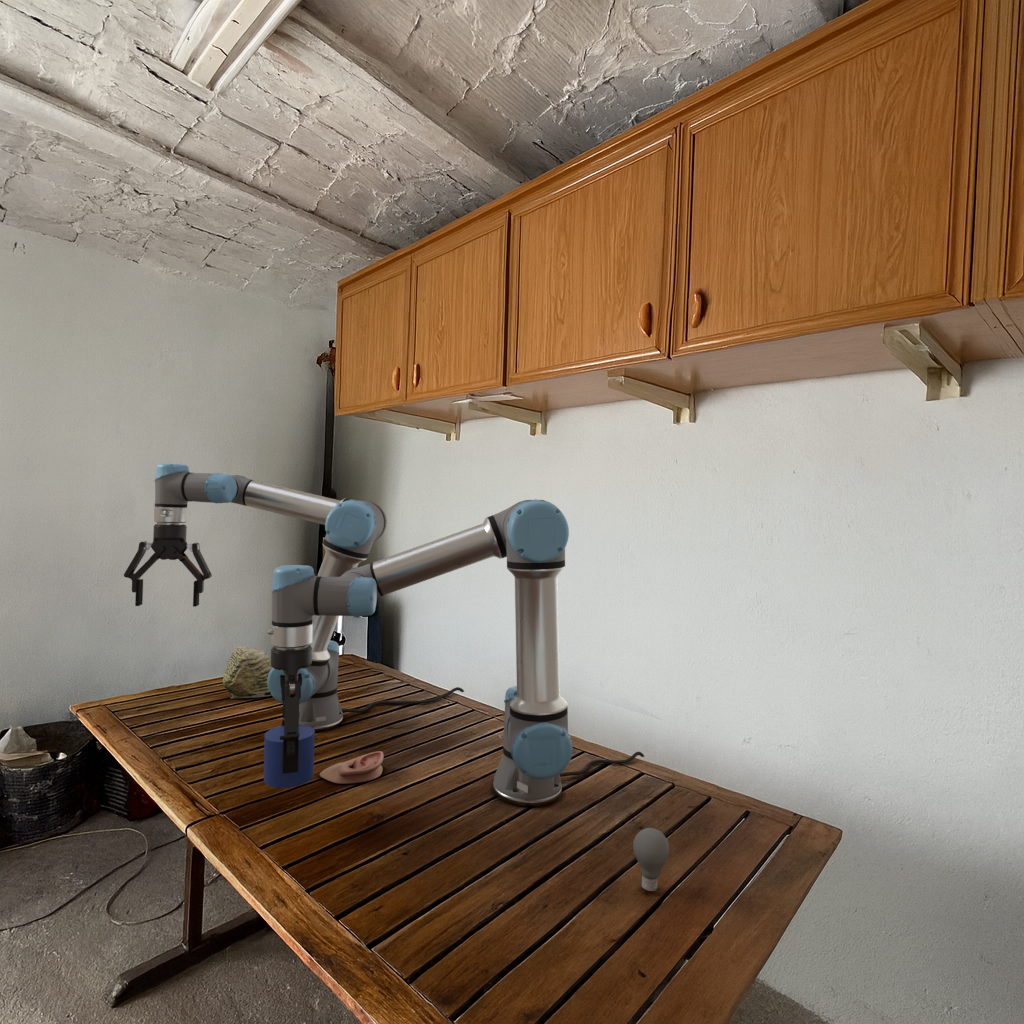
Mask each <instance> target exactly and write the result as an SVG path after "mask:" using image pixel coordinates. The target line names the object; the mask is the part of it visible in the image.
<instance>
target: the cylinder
mask: <svg viewBox="0 0 1024 1024" xmlns="http://www.w3.org/2000/svg"><path fill="white" fill-rule="evenodd" d="M292 732H295V731H292ZM299 734H300V735H299V744H298V772H293V773H285V774H283V773H282V771H283V740H280V736H283V735H284V726H282V725H280V726H276V727H273V728H271V729H269V730H267V731H266V732H265V733H264V739H263V740H264V743H263V749H264V750H263V782H264V783H265V785H267V786H268V787H272V788H281V789H282V788H283V789H284V788H285V789H287V788H295V787H297V786H301V785H304V784H306V783H308V782H310V781H311V780H312V779H313V778H314V776H315V738H316V737H315V735H316V732H315V730H314V729H313V728H312V727H310V726H307V725H299Z"/></svg>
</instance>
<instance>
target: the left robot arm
mask: <svg viewBox="0 0 1024 1024" xmlns="http://www.w3.org/2000/svg"><path fill="white" fill-rule="evenodd" d="M189 502H190V503H191V502H196V503H211V504H229V503H231V504H237V505H241V506H245V507H250V508H254V509H258V510H262V511H265V512H271V513H274V514H279V515H283V516H286V517H291V518H294V519H298V520H303V521H305V522H310V523H315V524H320V525H322V526H324V530H325V536H324V540H323V541H322V542H323V543H322V546H323V549H324V551H325V554H324V557H323V559H322V562H321V565H320V568H319V570H318V573H317V576H319V577H340V576H342V575H343V574H344V573H345V572H346V571H347V570H350V569H352V568H355V567H359V564H361V563H362V562H364V561H366V560H367V559H368V557H369V555H370V552H371V549H372V546H373V544H374V542H376V541H378V540H379V539H380V538H381V537H382V536H383V535H384V534H385V531H386V529H387V526H388V525H387V524H388V521H387V515H386V513H385V511H384V509H383V507H381V506H380V505H379V504H377V503H376V502H373V501H371V500H358V499H352V498H347V497H344V498H343V499H341V500H339V499H336V498H331V497H327V496H323V495H320V494H319V495H318V494H314V493H310V492H306V491H302V490H298V489H293V488H290V487H285V486H282V485H281V486H280V485H277V484H273V483H268V482H264V481H260V480H256V479H252V478H248V477H246V476H243V475H239V474H233V475H232V474H227V473H219V472H215V473H214V472H213V473H211V472H208V473H207V472H190V469H189V466H188V465H187V464H182V463H181V464H177V463H159V464H157V466H156V468H155V477H154V507H153V508H154V509H153V511H154V512H153V521H154V525H153V534H152V535H153V536H152V542H148V541H146V540H145V541H140V542H139V543H138V547H137V552H136V553H135V555H134V556H133V558H132V560H131V561H130V563H129V564H128V567H127V568H126V570H125V571H124V573H123V577H124V578H128V579H130V580H131V592H132V593H135V599H134V600H135V603H134V604H135V607H139V606H142V605H143V597H144V596H143V595H144V579H143V578H141V577H143V575H145V573H146V572H148V570H149V569H150V568H151V567H153V565H154V564H155V563H156V562H157V561H158V560H161V561H165V560H170V561H176V560H178V561H179V562H181V563H182V564H183V566H184V567H185V568H186V570H188V572H190V574H191V575H192V576H193V577H194V578H195V580H194V581H193V593H192V607H193V608H194V607H198V606H199V605H200V594H203V593H204V589H205V588H204V587H205V581H206V580H208V579H210V578H212V577H213V573H212V572H211V570H210V568H209V566H208V564H207V562H206V560H205V558H204V556H203V554H202V552H201V546H200V543H199V542H194V543H188V542H187V532H188V531H187V530H188V529H187V524H186V523H187V522H188V503H189ZM150 548H151V549H152V551H153V552H154V553H153V554H152V555H151V556H150V557H149V558H148V560H146V561H145V562H144V563H143V565H141V567H139V564H141V561H142V560H143V558H144V556H145V555H146V552H147V551H149V550H150ZM187 549H189V551H190V552H191V553H192V555H193V558H194V559H195V561H196V563H197V565H198V567H199V569H200V570H199V569H198V567H197V566H195V564H194V563H193V561H192V560H191V559H190V558H189V556H188V555H187V554H186V551H187ZM138 567H139V569H138V570H137V568H138ZM136 570H137V571H136ZM135 571H136V572H135ZM339 617H340V616H326V615H320V616H316V615H313V642H312V643H311V644H310V646H311V647H312V663H311V665H310V666H309V667H306V668H304V669H303V668H301V669H299V670H298V673H301V674H302V686H301V699H300V700H299V714H300V715H299V716H300V717H299V725H307V726H310V727H312V728H313V729H314V730H315V733H316V732H325V731H329V730H332V729H335V728H337V727H339V726H340V725H342V723H343V722H344V714H343V713H355V714H357V713H358V714H360V713H364V712H367V711H369V709H371V708H372V707H374V706H380V705H420V704H421V705H423V704H424V705H425V704H430V703H434V702H437V701H440V700H441V699H443V698H446V697H449V696H450V695H451V694H453V693H455V692H456V691H457V692H458V691H459V692H460V693H464V692H465V690H464V689H463V688H462V687H458V686H457V687H454V688H452V689H450V690H449V691H446V692H444V693H442V694H441V695H438V696H436V697H434V698H429V699H422V700H421V699H420V700H378V701H373V702H371V703H369V704H368V705H366V706H365V707H363V708H342V706H341V702H340V699H339V695H338V682H339V681H338V680H339V678H338V677H339V662H340V661H339V660H340V659H339V657H340V645H339V643H338V642H337V641H335V640H331V639H332V636H333V633H334V631H335V629H336V626H337V622H338V620H339ZM280 675H284V671H283V670H277V669H274V668H272V669H271V671H270V672H269V675H268V679H267V685H268V689H269V691H270V693H271V695H272V698H273V699H274V700H275V701H277V702H278V703H280V704H282V705H283V702H282V693H281V687H280Z"/></svg>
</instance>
